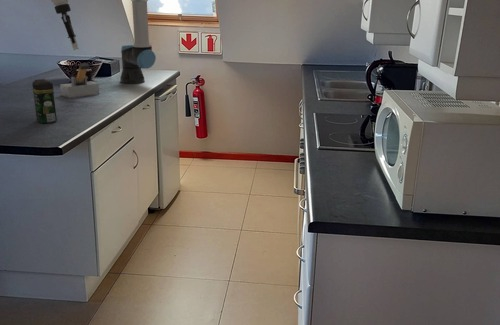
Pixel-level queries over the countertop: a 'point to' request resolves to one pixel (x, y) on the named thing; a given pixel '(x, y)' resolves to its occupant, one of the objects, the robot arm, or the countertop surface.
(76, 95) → the breaker box
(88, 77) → the coffee mug
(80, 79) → the lever
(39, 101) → the coffee jar
